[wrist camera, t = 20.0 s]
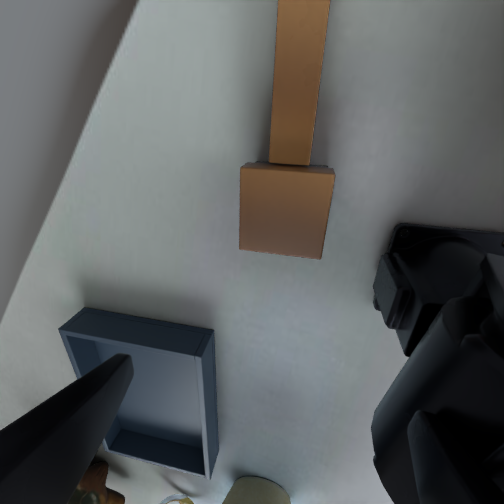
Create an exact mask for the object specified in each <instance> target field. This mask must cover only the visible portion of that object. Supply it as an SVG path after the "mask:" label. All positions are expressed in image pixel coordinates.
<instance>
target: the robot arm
mask: <svg viewBox="0 0 504 504" xmlns="http://www.w3.org/2000/svg"><path fill="white" fill-rule="evenodd" d="M403 229H406V230H407V232H406V233H405V234H402V235H401V234H400V232H401V230H403ZM503 241H504V233H501V232H490V231H480V230H470V229H460V228H449V227H439V226H429V225H419V224H408V223H401V224H399V225H397V226H396V227H395V229H394V231H393V235H392V238H391V242H390V245H389V248H388V252H387V253H385V254H384V255H382V256H381V260H380V263H379V267H378V270H377V274H376V277H375V281H374V284H373V289H374V292H375V296H374V300H373V304H374V307H375V309H376V310H378V311H381V313H382V316H383V319H384V322H385V324H386V326H387V327H388V328H390V329H395V330H396V333H397V336H398V338H399V341H400V344H401V347H402V349H403V352H404V354H405V355H406V356H407V357H409V359H408V360H407V362H406V363H405V365H404V367H403V368H402V370H401V371H400V373H399V374H398V376H397V377H396V379H395V380H394V382H393V383H392V385H391V386H390V388H389V390H388V391H387V393H386V394H385V396H384V397H383V399H382V400H381V402H380V403H379V405H378V406H377V408H376V410H375V412H374V416H373V421H372V425H371V432H372V439H373V447H374V452H375V456H374V458H373V462H374V466H375V468H376V470H377V473H378V475H379V477H380V480H381V482H382V484H383V486H384V488H385V489H386V491H387V493H388V494H389V496H390V497H391V499H392V501H393V502H394V504H504V245H501V244H502V242H503ZM133 376H134V367H133V362H132V357H131V355H130V354H125V353H117V354H115V355H113V356H112V357H110V358H109V359H107V360H106V361H104V362H103V363H101V364H100V365H98V366H97V367H95V368H94V369H92V370H91V371H89V372H88V373H86V374H85V375H83V376H82V377H80V378H79V379H77V380H76V381H74V382H73V383H71V384H70V385H68V386H67V387H65V388H64V389H62V390H61V391H59V392H58V393H56V394H55V395H53V396H52V397H50V398H49V399H47V400H46V401H44V402H43V403H41V404H40V405H38V406H37V407H35V408H34V409H32V410H31V411H29V412H28V413H26V414H25V415H23V416H22V417H20V418H19V419H17V420H16V421H14V422H13V423H11V424H10V425H8V426H6V427H5V428H3V429H2V430H0V504H67V503H68V502H69V500H70V498H71V496H72V495H73V493H74V491H75V489H76V488H77V486H78V484H79V482H80V481H81V479H82V477H83V475H84V473H85V472H86V470H87V468H88V466H89V465H90V463H91V461H92V459H93V458H94V456H95V454H96V452H97V450H98V449H99V447H100V445H101V443H102V442H103V440H104V438H105V436H106V435H107V433H108V431H109V429H110V427H111V425H112V423H113V421H114V419H115V417H116V415H117V412H118V410H119V408H120V406H121V403H122V401H123V399H124V397H125V394H126V392H127V390H128V388H129V386H130V383H131V381H132V379H133Z"/></svg>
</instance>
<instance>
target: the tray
mask: <svg viewBox="0 0 504 504" xmlns="http://www.w3.org/2000/svg"><path fill="white" fill-rule="evenodd" d="M58 330H59V333H60V335H61V338H62V340H63V343H64V346H65V348H66V351H67V353H68V356H69V359H70V361H71V364H72V366H73V369H74V372H75V374H76V377H77V379H79V378H80V377H82V376H83V375H85V374H86V373H88V372H89V371H91V370H92V369H94V368H95V367H97V366H98V365H100V364H101V363H103V362H104V361H106V360H107V359H109V358H110V357H112V356H113V355H115V354H117V353H125V354H130V355H131V357H132V362H133V367H134V376H133V379H132V381H131V383H130V386H129V388H128V390H127V392H126V394H125V397H124V399H123V401H122V403H121V406H120V408H119V410H118V412H117V415H116V417H115V419H114V421H113V423H112V425H111V427H110V429H109V431H108V433H107V435H106V436H105V438H104V440H103V442H102V444H103V447H104V450H105V451H107V452H110V453H114V454H118V455H121V456H125V457H129V458H133V459H136V460H140V461H144V462H147V463H151V464H155V465H158V466H162V467H166V468H169V469H173V470H177V471H180V472H184V473H188V474H192V475H195V476H199V477H203V478H206V479H211V476H212V472H213V469H214V465H215V462H216V458H217V455H218V451H219V442H218V418H217V393H216V368H215V344H214V330H209V329H204V328H198V327H192V326H187V325H181V324H175V323H170V322H164V321H158V320H153V319H147V318H141V317H136V316H130V315H124V314H119V313H113V312H107V311H102V310H96V309H90V308H85V307H84V308H83V309H82V310H80V311H79V312H78V313H77V314H76V315H74V316H73V317H72V318H71V319H70V320H68V321H67V322H66V323H65V324H64V325H63V326H61V327H60V328H59V329H58Z"/></svg>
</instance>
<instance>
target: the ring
mask: <svg viewBox="0 0 504 504" xmlns="http://www.w3.org/2000/svg"><path fill="white" fill-rule="evenodd" d="M172 501H179V503H180V504H194V503H193V502H192V501H191V500H190V499H189V498H188V495H187V494H183V495H181V494H174V495H170V496H168V497H167V498H165V499H164V500H163V501H161V502H160V503H159V504H167V503H169V502H172Z"/></svg>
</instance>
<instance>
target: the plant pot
mask: <svg viewBox="0 0 504 504" xmlns="http://www.w3.org/2000/svg"><path fill="white" fill-rule="evenodd" d="M222 504H291V502H290V498H289V495H288V494H287V492H286V491H285V490H284V489H283V488H281V487H280V486H279V485H277V484H275V483H273V482H271V481H269V480H266V479H263V478H259V477H250V476H248V477H242V478H239V479H237V480H236V481H235V483H234V484H233V486H232V488H231V489H230V491H229V493H228V494H227V496H226V498H225V500H224V501H223V503H222Z"/></svg>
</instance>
